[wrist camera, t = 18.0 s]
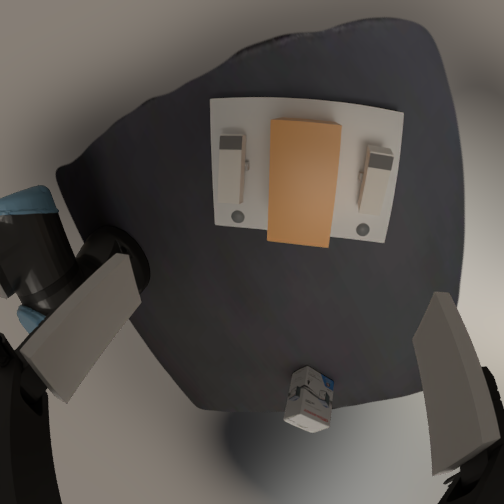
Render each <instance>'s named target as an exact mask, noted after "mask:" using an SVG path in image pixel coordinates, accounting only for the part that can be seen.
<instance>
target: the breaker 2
mask: <svg viewBox="0 0 504 504" xmlns="http://www.w3.org/2000/svg"><path fill="white" fill-rule="evenodd" d="M393 159H394V154H393V153H392V151H391V149H390V148H385V147H379V146H373V145H368V148H367V154H366V161H365V167H364V173H363V178H362V184H361V189H360V194H359V199H358V204H357V205H358V211H359V213H361V214H369V215H376V216H380V212H381V208H382V204H383V201H384V197H385V193H386V189H387V184H388V180H389V176H390V171H391V169H392V164H393Z"/></svg>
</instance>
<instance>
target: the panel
mask: <svg viewBox="0 0 504 504" xmlns="http://www.w3.org/2000/svg"><path fill="white" fill-rule="evenodd" d="M280 117H285V118H301V119H313V120H323V121H332V122H336V123H338V124H340V125H342V130H341V144H340V156H339V166H338V176H337V186H336V194H335V203H334V211H333V218H332V225H331V232H330V237H339V238H348V239H356V240H364V241H372V242H380V243H384V241H385V237H386V233H387V228H388V223H389V219H390V214H391V209H392V203H393V198H394V192H395V186H396V180H397V173H398V166H399V158H400V150H401V141H402V130H403V117H404V113H402V112H397V111H392V110H387V109H382V108H376V107H370V106H364V105H358V104H351V103H343V102H335V101H325V100H314V99H299V98H276V97H240V98H216V99H210V125H211V155H212V179H213V199H214V216H215V225H221V226H233V227H243V228H254V229H264V230H268V201H269V167H270V124H271V119H276V118H280ZM220 134H243V135H245V136H246V151H245V171H244V192H243V203H240V204H232V203H217V202H218V173H219V151H220V149H219V142H220ZM368 145H373V146H379V147H385V148H390V149H391V151H392V153H393V154H394V159H393V164H392V169H391V171H390V176H389V180H388V184H387V189H386V193H385V197H384V201H383V204H382V208H381V212H380V216H376V215H369V214H361V213H359V211H358V205H357V204H358V199H359V194H360V189H361V184H362V178H363V173H364V167H365V161H366V154H367V148H368Z"/></svg>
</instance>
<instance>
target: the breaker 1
mask: <svg viewBox="0 0 504 504" xmlns="http://www.w3.org/2000/svg"><path fill="white" fill-rule="evenodd" d="M219 149H220V151H219V173H218V202H217V203H232V204H240V203H243V192H244V171H245V151H246V136H245V135H243V134H220V142H219Z"/></svg>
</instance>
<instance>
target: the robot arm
mask: <svg viewBox="0 0 504 504" xmlns="http://www.w3.org/2000/svg"><path fill="white" fill-rule="evenodd" d="M58 212H59V210H58V209H57V208H56V206H55V203H54V200H53V198H52V195H51V192H50V190H49V189H48V188H47V187H45V186H43V185H38V186H34V187H31V188H28V189H25V190H22V191H19V192H16V193H13V194H11V195H8V196H5V197H3V198H0V297H2V298H6V299H7V298H9V297H10V296H11V295H13V294H14V293H16V294H17V295H18V297H19V299H20V301H21V303H22V305H20V306H19V308H18V310H17V316H18V318H19V321H20V322H21V324H22V325H23V327H24V328H25V329H26V331H27V332H28V333H29V335H28V336H27V338H26V339H25V340H24V341H23V342H22V343H21V345H20V346H19V347H18V348H17V349H16V350H13V348H12V347H11V345H10V344H9V342H8V341H7V339H6V338H5V336H4V334H2V333H0V504H62V502H61V498H60V494H59V489H58V484H57V480H56V474H55V468H54V462H53V456H52V448H51V439H50V427H49V410H48V395H47V392H46V389H47V388H48V389H49V390H50V391H51V392H52V393H53V394H54V396H56V397H57V398H59V399H60V400H62V401H63V402H65V403H66V404H67V403H68V401H69V400H70V398H71V397H72V396H73V394H74V393H75V391H76V389H77V388H78V387H79V385H80V384H81V382H82V381H83V380H84V378H85V377H86V375H87V374H88V372H89V371H90V370H91V368H92V367H93V366H94V364H95V363H96V361H97V360H98V358H99V357H100V356H101V354H102V353H103V352H104V350H105V349H106V348H107V346H108V345H109V344H110V342H111V341H112V339H113V338H114V337H115V335H116V334H117V333H118V332H119V330H120V329H121V328H122V326H123V325H124V324H125V323H126V321H127V320H128V319H129V317H130V316H131V315H132V314H133V312H134V311H135V310H136V308H137V307H138V306H139V305H140V303H141V299H140V296H139V295H140V294H141V293H142V291H143V290H144V289H145V288H146V287H147V285H148V283H149V279H150V270H149V265H148V262H147V259H146V257H145V255H144V253H143V251H142V250H141V248H140V247H139V245H138V244H137V243H136V242H135V241H134V240H133V239H132V238H131V237H130V236H129V235H128V234H127V233H125V232H124V231H122V230H120V229H118V228H115V227H111V226H104V227H101V228H99V229H97V230H96V231H94V232H93V233H92V234H90V235H89V236H88V238H87V239H86V241H85V243H84V245H83V246H82V248H81V250H80V251H79V253H78V254H77V256H76V258H75V256H74V254H73V251H72V249H71V246H70V244H69V241H68V239H67V236H66V233H65V231H64V228H63V225H62V223H61V220H60V217H59V214H58ZM412 341H413V345H414V349H415V353H416V358H417V362H418V367H419V371H420V376H421V381H422V387H423V392H424V398H425V404H426V410H427V418H428V425H429V434H430V444H431V456H432V457H431V458H432V476H435V475H440V474H444V473H449V472H451V471H453V470H455V469H456V468H458V467H459V466H460V472H459V473H457V474H455V475H453V476H452V477H450V478H448V479H447V480H446V481H445V482H444V483H443V484H447V483H449V482H451V481H452V483H451V484H450V485H448V487H449V488H448V489H447V491H446V492H445V494H444V495H443V497H442V498H441V500H440V501H439V503H438V504H504V408H503V405H502V401H500V398H501V397H500V394H499V391H497V389H498V388H497V385H496V382H495V379H494V376H493V375H492V374H491V372H490V371H489V369H488V368H487V367H481V365H480V362H479V359H478V357H477V354H476V352H475V349H474V346H473V344H472V341H471V339H470V337H469V334H468V332H467V330H466V327H465V325H464V323H463V321H462V318H461V316H460V314H459V312H458V310H457V308H456V306H455V304H454V302H453V300H452V298H451V296H450V294H449V293H445V292H434V294H433V296H432V299H431V301H430V303H429V306H428V308H427V310H426V312H425V314H424V316H423V319H422V321H421V323H420V325H419V327H418V329H417V331H416V333H415V335H414V337H413V339H412Z"/></svg>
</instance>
